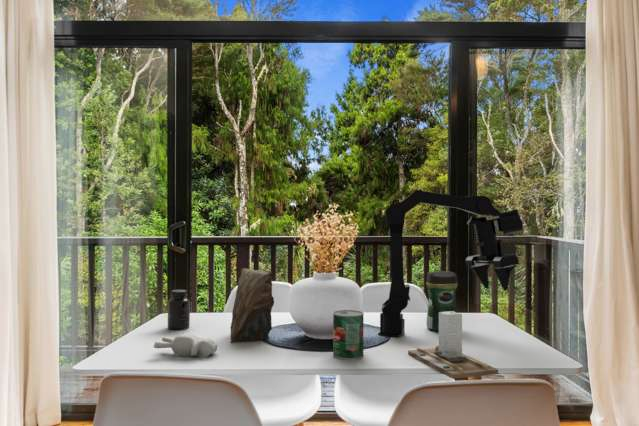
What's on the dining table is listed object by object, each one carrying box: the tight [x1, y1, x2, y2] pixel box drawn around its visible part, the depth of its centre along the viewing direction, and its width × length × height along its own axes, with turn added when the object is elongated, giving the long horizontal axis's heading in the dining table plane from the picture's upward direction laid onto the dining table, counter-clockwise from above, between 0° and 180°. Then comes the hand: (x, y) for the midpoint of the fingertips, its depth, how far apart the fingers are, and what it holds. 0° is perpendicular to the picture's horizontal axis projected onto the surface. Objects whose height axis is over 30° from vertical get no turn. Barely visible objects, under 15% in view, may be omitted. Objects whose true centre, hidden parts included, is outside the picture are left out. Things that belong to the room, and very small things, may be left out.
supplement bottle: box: [167, 289, 191, 331], centre depth 163 cm, size 7×7×12 cm
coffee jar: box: [425, 270, 459, 332], centre depth 163 cm, size 10×8×19 cm
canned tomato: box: [332, 309, 365, 361], centre depth 132 cm, size 8×8×11 cm
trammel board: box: [407, 344, 499, 380], centre depth 125 cm, size 21×12×3 cm, turn 18°
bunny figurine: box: [153, 333, 218, 358], centre depth 132 cm, size 10×5×15 cm
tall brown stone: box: [230, 267, 275, 344], centre depth 151 cm, size 13×13×20 cm
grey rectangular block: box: [434, 311, 466, 362], centre depth 124 cm, size 6×7×11 cm
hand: (496, 289), depth 151 cm, fingers open, 9 cm apart
